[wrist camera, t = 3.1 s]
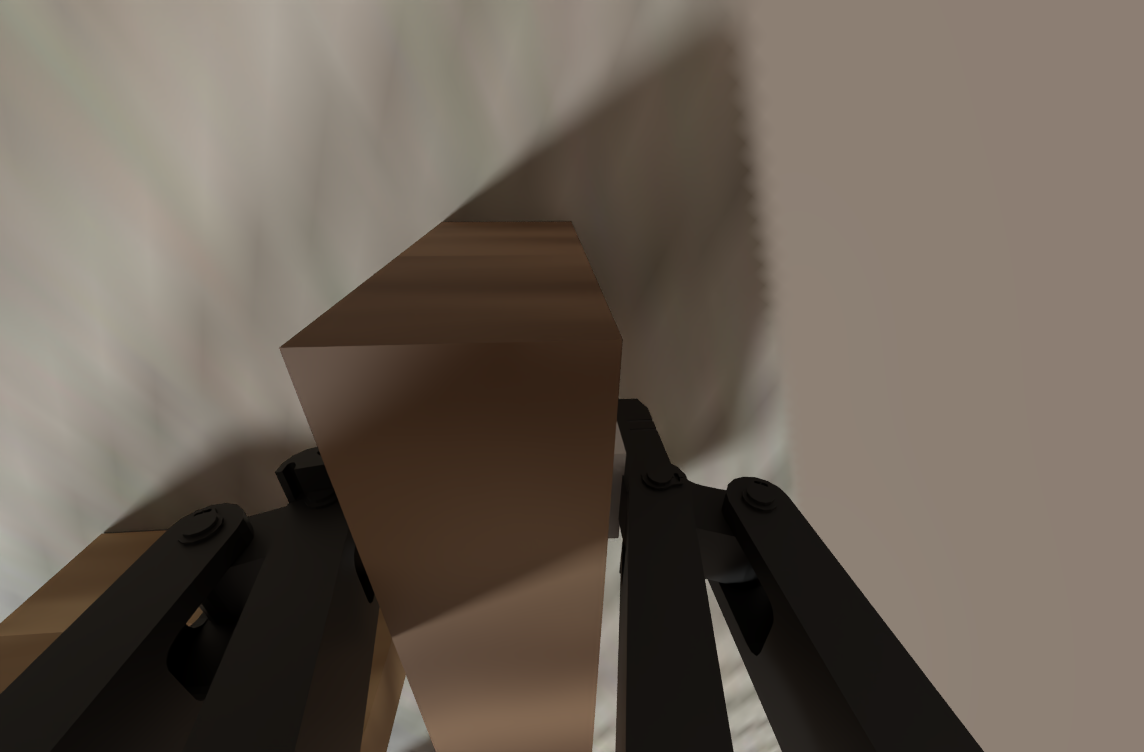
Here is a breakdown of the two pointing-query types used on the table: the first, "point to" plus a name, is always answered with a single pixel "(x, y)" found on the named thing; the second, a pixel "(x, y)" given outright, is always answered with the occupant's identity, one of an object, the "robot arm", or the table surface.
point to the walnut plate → (477, 471)
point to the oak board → (102, 562)
